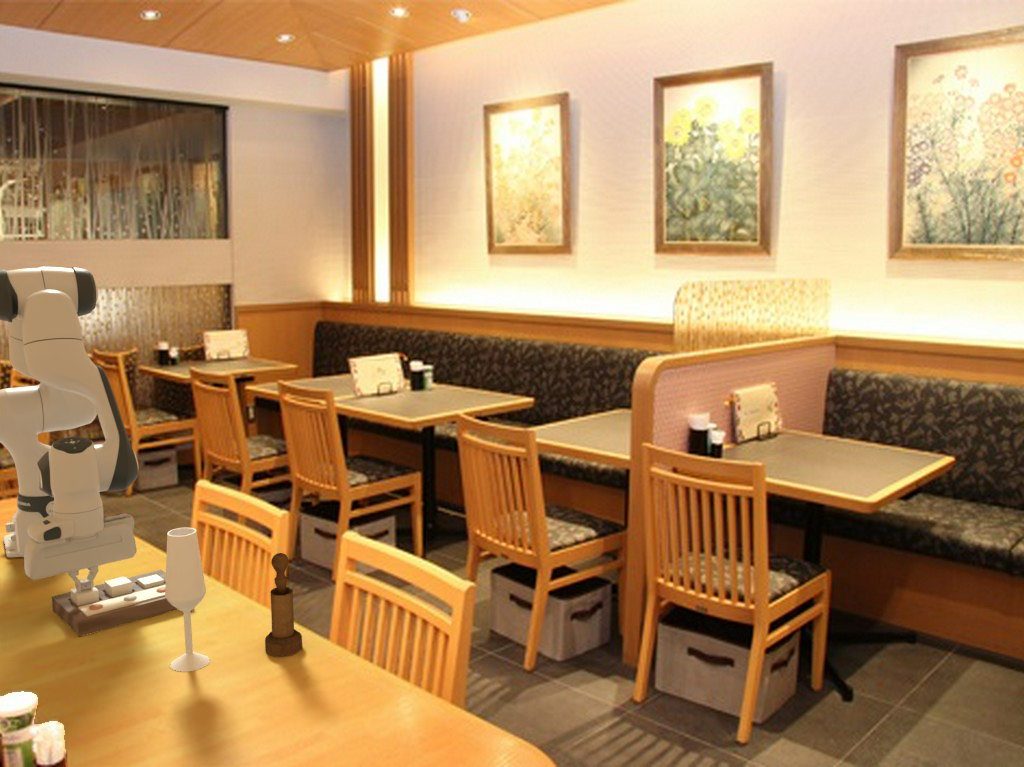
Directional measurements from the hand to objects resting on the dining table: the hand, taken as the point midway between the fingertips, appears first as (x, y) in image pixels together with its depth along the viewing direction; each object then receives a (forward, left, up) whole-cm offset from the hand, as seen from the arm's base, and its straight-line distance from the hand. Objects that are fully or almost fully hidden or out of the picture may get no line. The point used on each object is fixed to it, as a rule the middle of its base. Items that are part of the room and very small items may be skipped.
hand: (84, 589), depth 188 cm
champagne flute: (+34, +7, -5) cm, 35 cm away
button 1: (0, 0, -3) cm, 3 cm away
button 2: (0, +13, -4) cm, 14 cm away
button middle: (0, +7, -3) cm, 7 cm away
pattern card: (+6, +7, -2) cm, 9 cm away
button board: (+2, +7, -5) cm, 9 cm away
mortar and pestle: (+40, +22, -5) cm, 46 cm away
